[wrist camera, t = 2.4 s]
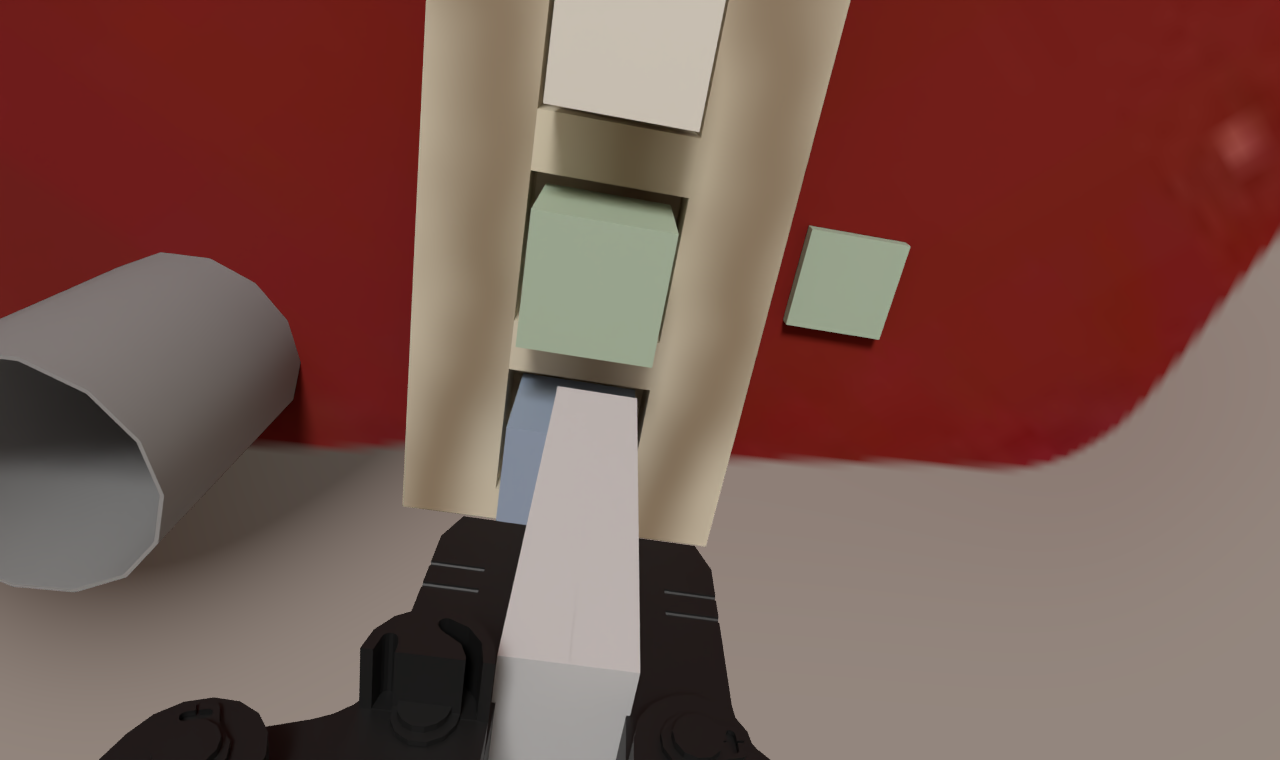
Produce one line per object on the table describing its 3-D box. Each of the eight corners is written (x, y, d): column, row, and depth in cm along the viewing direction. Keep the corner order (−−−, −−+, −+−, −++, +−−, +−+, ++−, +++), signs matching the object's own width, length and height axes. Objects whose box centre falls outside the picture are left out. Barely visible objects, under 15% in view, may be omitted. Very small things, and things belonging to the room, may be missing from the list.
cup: (294, 269, 29) (143, 370, 20) (306, 445, 32) (181, 601, 23) (73, 241, 28) (-186, 333, 19) (109, 424, 32) (-98, 576, 23)
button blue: (511, 468, 31) (494, 533, 26) (523, 372, 29) (506, 427, 25) (616, 483, 31) (615, 549, 27) (635, 389, 29) (636, 446, 25)
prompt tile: (783, 319, 30) (786, 324, 30) (808, 225, 29) (812, 229, 28) (874, 334, 31) (878, 339, 30) (905, 242, 29) (910, 246, 28)
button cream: (557, 93, 24) (542, 103, 20) (574, -59, 23) (564, -83, 18) (687, 117, 25) (699, 132, 21) (715, -30, 23) (734, -47, 19)
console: (420, 467, 33) (402, 506, 30) (456, -149, 23) (434, -175, 21) (699, 506, 34) (705, 546, 31) (844, -66, 24) (871, -80, 22)
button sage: (532, 302, 27) (515, 346, 23) (546, 183, 26) (531, 209, 22) (648, 320, 28) (651, 367, 24) (670, 204, 26) (678, 234, 22)
